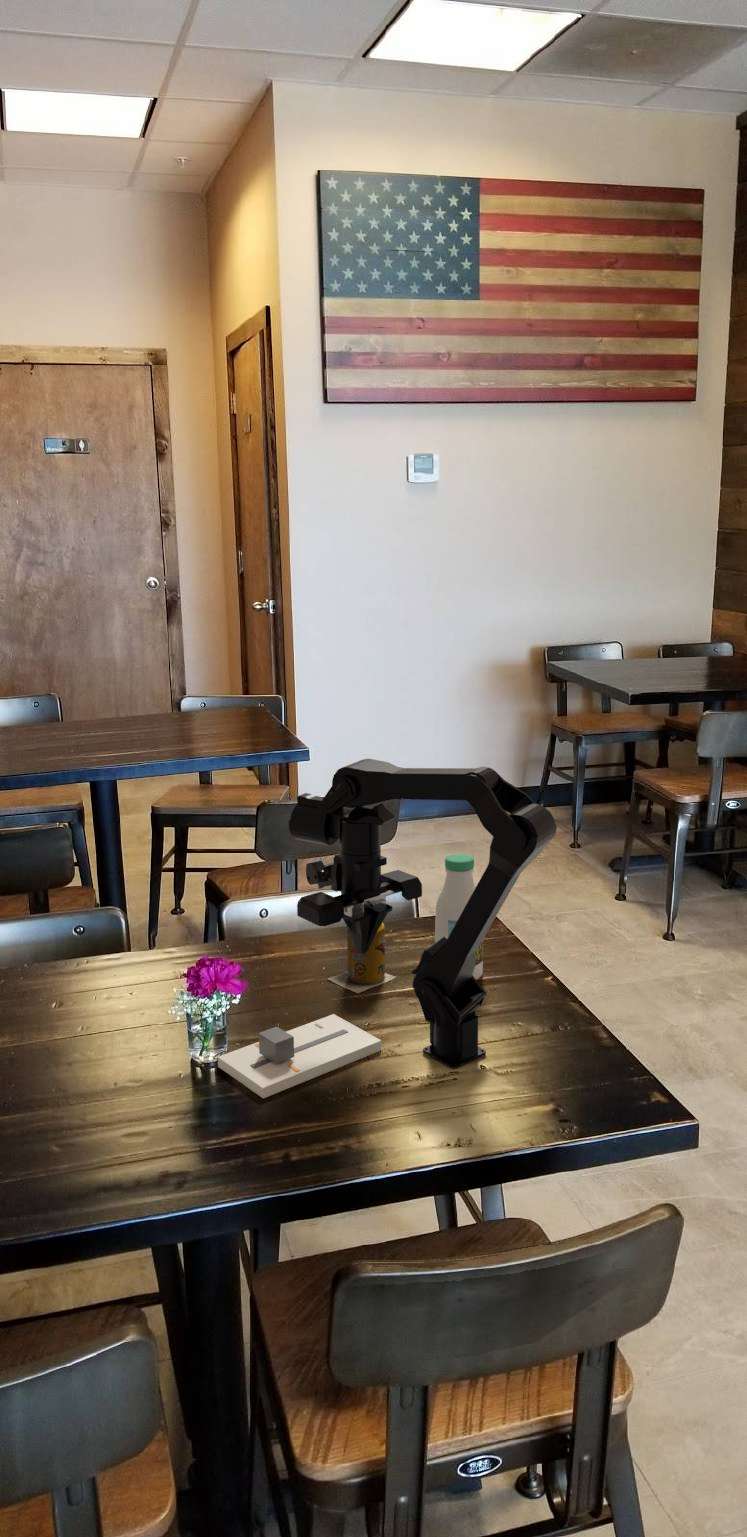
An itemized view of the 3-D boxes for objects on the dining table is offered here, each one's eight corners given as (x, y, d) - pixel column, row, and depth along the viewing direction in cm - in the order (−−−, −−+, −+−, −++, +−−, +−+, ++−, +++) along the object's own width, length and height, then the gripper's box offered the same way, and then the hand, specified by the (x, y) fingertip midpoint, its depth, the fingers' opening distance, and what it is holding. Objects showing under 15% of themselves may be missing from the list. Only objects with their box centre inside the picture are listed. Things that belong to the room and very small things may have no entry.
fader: (294, 1057, 153) (293, 1036, 153) (276, 1064, 151) (275, 1043, 151) (277, 1046, 156) (276, 1026, 156) (259, 1053, 154) (258, 1033, 154)
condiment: (396, 978, 182) (395, 908, 180) (358, 994, 177) (356, 922, 174) (365, 965, 188) (364, 897, 185) (327, 980, 182) (325, 910, 179)
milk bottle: (430, 981, 181) (429, 863, 176) (441, 962, 188) (441, 848, 183) (477, 987, 179) (478, 867, 174) (486, 967, 186) (488, 852, 181)
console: (381, 1050, 159) (381, 1039, 158) (263, 1098, 146) (262, 1087, 146) (333, 1023, 167) (333, 1013, 167) (218, 1066, 155) (217, 1056, 154)
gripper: (375, 824, 170) (376, 922, 174) (272, 850, 159) (276, 953, 162) (424, 841, 162) (424, 943, 165) (320, 869, 150) (322, 977, 154)
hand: (362, 953), depth 162 cm, fingers closed
